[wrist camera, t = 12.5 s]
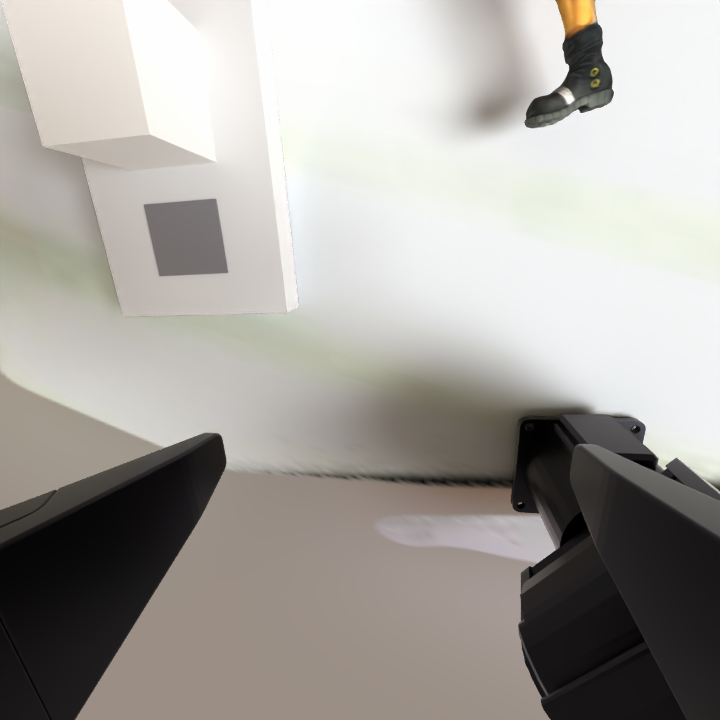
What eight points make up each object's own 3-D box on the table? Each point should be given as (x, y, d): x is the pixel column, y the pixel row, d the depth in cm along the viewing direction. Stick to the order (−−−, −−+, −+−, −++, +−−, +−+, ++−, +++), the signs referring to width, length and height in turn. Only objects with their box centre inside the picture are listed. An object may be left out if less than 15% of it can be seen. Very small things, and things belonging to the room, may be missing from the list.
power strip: (298, 306, 21) (283, 314, 18) (147, 311, 22) (114, 319, 20) (248, -174, 14) (213, -260, 12) (44, -121, 16) (-23, -188, 14)
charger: (236, 170, 19) (149, 134, 13) (159, 177, 19) (42, 146, 13) (220, 52, 17) (111, -55, 11) (136, 65, 18) (-8, -29, 12)
